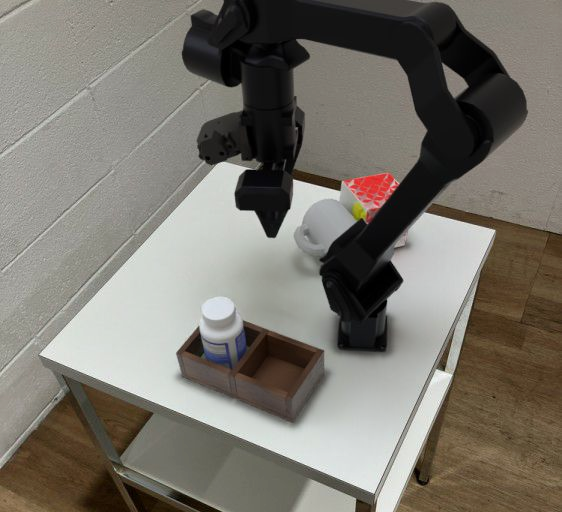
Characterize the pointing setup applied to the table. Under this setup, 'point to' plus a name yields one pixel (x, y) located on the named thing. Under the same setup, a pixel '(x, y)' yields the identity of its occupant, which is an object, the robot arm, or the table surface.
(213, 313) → the pill bottle
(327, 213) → the cup
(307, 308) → the table surface
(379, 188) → the red patterned cube
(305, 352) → the divided box
